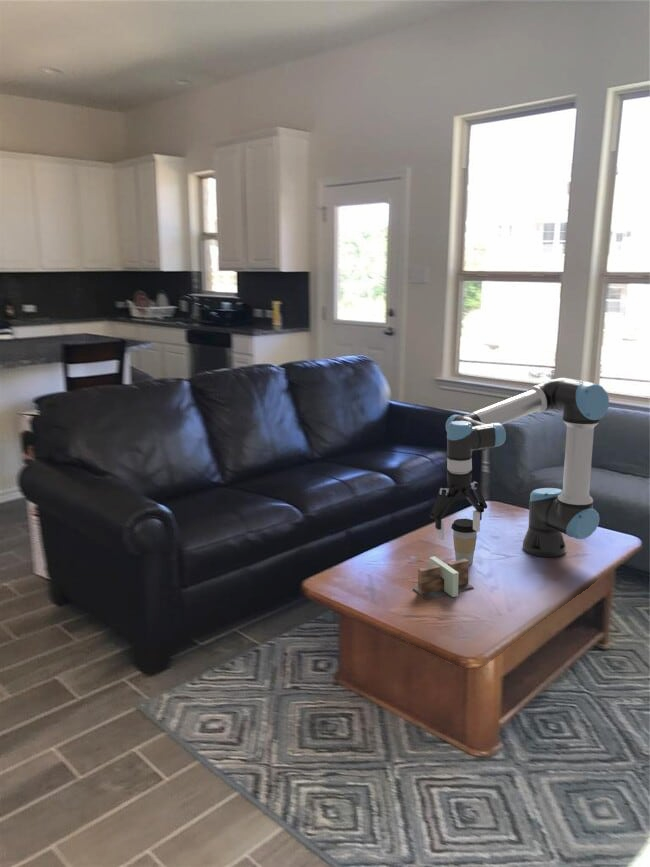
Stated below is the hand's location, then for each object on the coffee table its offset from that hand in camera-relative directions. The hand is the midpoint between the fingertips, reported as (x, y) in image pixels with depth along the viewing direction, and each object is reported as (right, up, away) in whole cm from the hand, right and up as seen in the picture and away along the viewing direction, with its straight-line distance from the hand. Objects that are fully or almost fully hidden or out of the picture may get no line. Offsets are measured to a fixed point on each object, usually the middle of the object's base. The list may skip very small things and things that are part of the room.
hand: (458, 534), depth 221 cm
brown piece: (-4, -19, +5) cm, 20 cm away
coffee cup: (+7, -14, +26) cm, 30 cm away
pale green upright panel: (-4, -18, +5) cm, 19 cm away
